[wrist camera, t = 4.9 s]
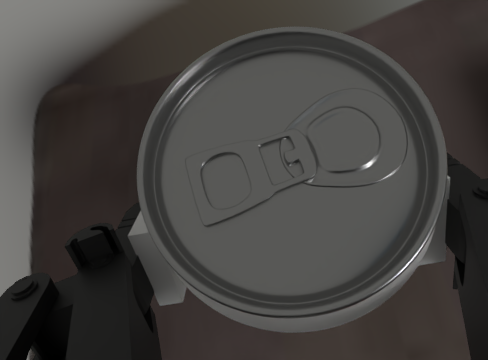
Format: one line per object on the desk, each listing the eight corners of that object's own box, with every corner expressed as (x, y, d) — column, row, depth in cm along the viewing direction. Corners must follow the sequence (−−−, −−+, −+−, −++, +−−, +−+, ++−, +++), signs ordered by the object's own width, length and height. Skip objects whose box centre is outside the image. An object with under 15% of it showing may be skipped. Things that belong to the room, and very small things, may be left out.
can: (385, 281, 16) (564, 270, 5) (256, 324, 17) (154, 403, 5) (332, 161, 18) (375, -37, 7) (219, 202, 19) (90, 75, 8)
